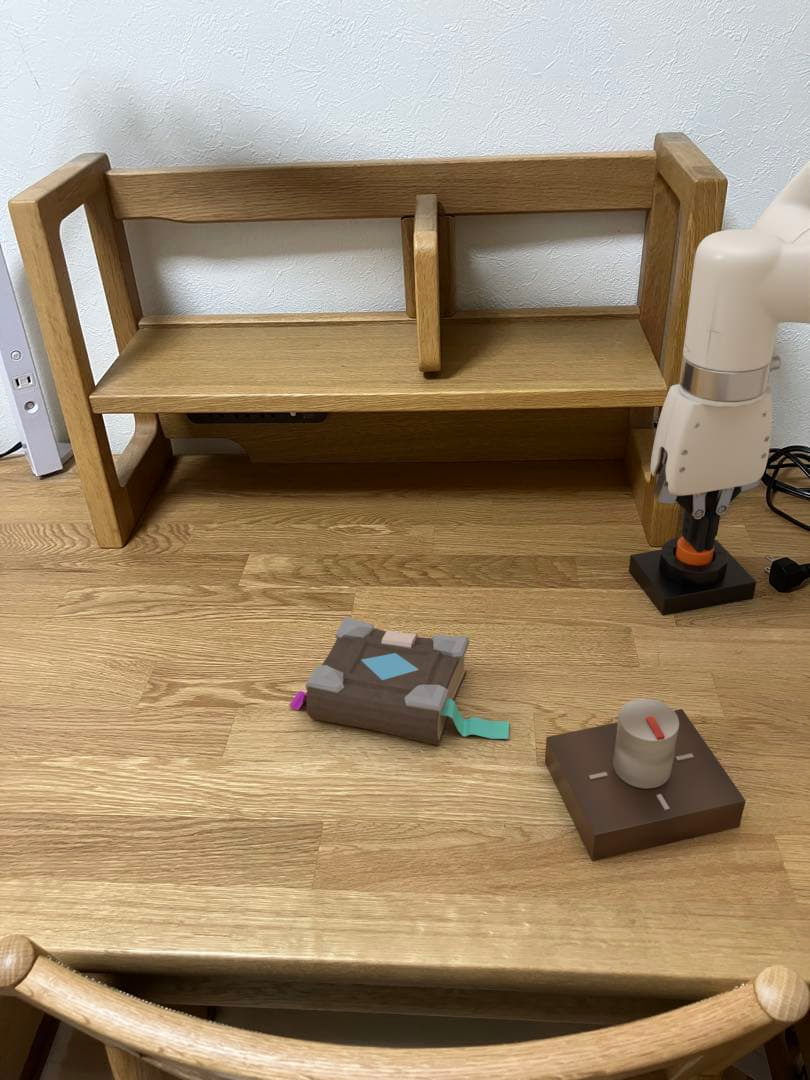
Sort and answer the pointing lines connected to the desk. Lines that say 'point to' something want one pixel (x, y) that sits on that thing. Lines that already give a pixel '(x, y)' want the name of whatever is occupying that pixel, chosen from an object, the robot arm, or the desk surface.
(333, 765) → the desk surface
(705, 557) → the button
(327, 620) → the desk surface
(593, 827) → the panel
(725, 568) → the button block
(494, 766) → the desk surface
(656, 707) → the knob
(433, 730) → the book
